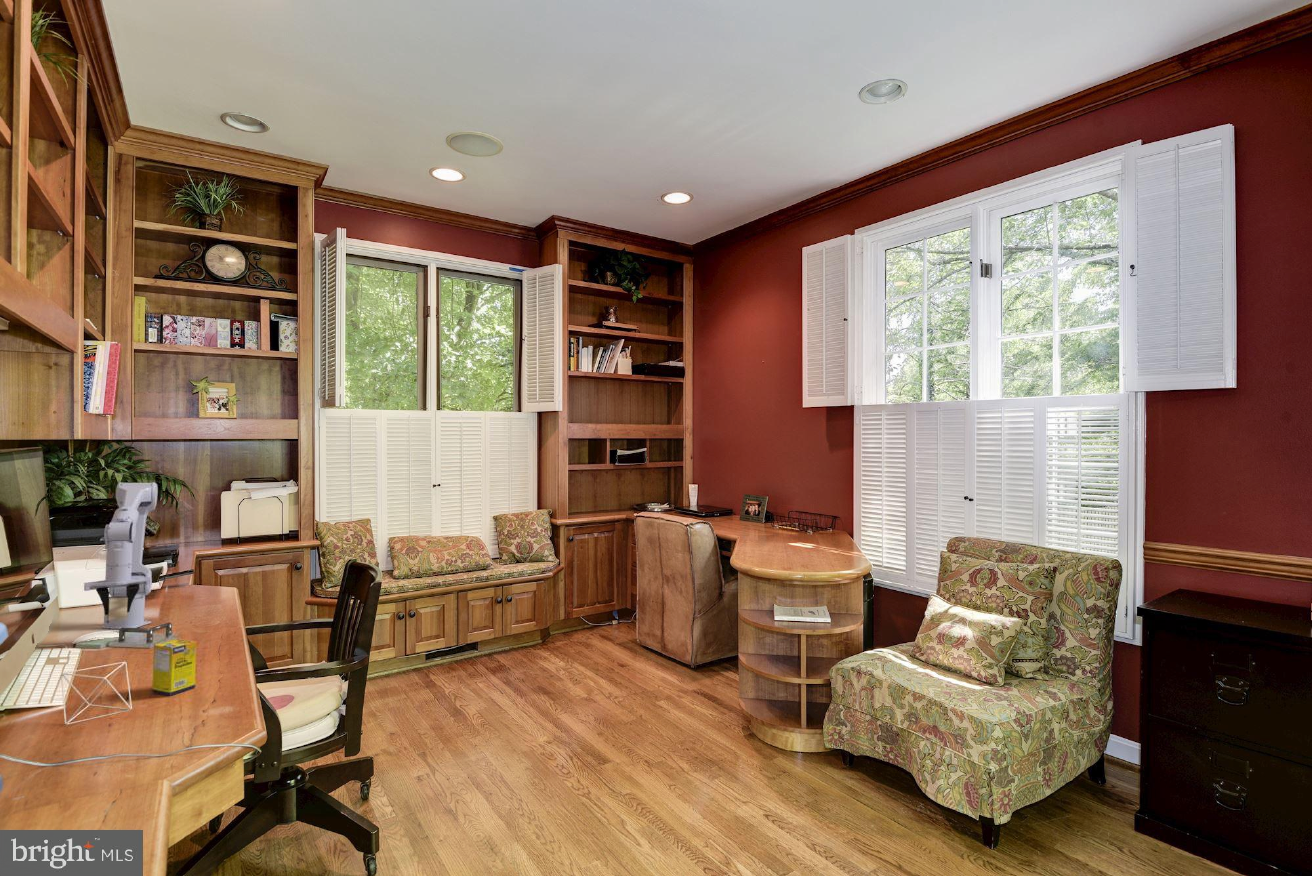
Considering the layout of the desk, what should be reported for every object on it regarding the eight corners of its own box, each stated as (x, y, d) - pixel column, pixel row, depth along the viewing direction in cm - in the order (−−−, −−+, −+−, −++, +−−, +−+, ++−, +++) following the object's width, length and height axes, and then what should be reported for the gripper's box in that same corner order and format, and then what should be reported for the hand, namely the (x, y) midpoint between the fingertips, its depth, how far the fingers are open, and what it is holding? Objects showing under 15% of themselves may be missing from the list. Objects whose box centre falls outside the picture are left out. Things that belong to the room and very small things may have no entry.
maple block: (108, 621, 186) (109, 599, 187) (106, 618, 189) (107, 596, 189) (126, 618, 189) (127, 597, 189) (124, 616, 192) (125, 595, 192)
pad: (75, 647, 184) (75, 643, 184) (118, 633, 198) (118, 630, 198) (100, 648, 183) (100, 644, 184) (141, 634, 197) (141, 631, 198)
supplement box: (195, 688, 157) (197, 641, 157) (169, 696, 151) (171, 647, 151) (177, 684, 159) (179, 638, 159) (151, 692, 153) (153, 644, 153)
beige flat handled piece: (108, 646, 185) (109, 629, 186) (137, 636, 195) (138, 620, 196) (150, 648, 185) (151, 630, 185) (177, 638, 195) (178, 621, 195)
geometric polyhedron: (141, 701, 148) (143, 659, 149) (121, 720, 138) (122, 675, 138) (72, 707, 144) (73, 664, 144) (45, 727, 134) (47, 681, 134)
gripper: (87, 569, 181) (84, 619, 181) (153, 564, 192) (151, 611, 192) (84, 565, 186) (82, 614, 186) (148, 560, 197) (147, 607, 197)
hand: (116, 613), depth 189 cm, fingers closed on maple block, 4 cm apart
